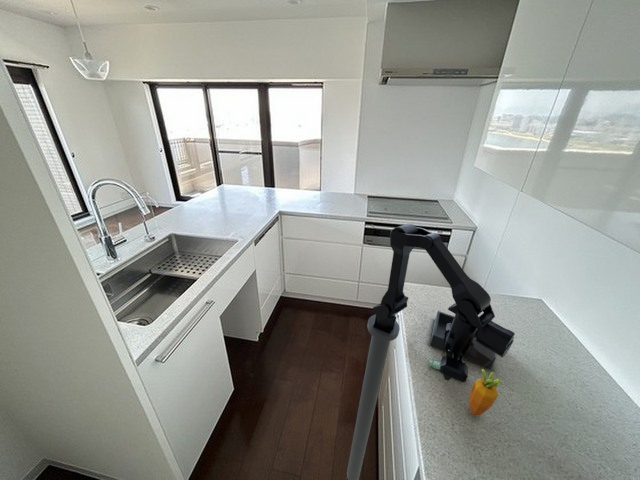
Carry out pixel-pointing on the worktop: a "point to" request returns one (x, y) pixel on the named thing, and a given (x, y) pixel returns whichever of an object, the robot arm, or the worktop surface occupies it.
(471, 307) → the robot arm
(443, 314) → the bin
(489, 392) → the carrot
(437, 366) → the pale green rod
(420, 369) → the worktop surface
